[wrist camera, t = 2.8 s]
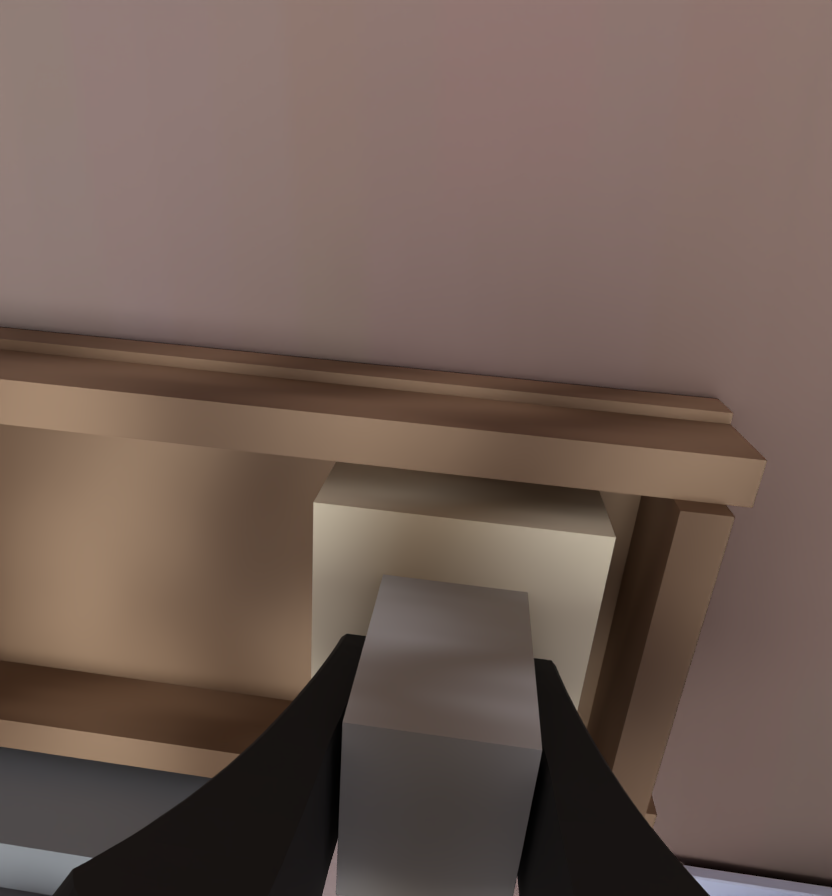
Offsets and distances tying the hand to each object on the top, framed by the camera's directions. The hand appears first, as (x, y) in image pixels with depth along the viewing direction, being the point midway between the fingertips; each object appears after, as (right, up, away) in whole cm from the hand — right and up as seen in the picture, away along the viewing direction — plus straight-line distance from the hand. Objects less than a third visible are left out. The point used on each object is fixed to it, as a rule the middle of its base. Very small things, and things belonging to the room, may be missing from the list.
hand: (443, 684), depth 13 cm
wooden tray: (-4, +2, +4) cm, 7 cm away
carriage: (0, +1, +3) cm, 3 cm away
